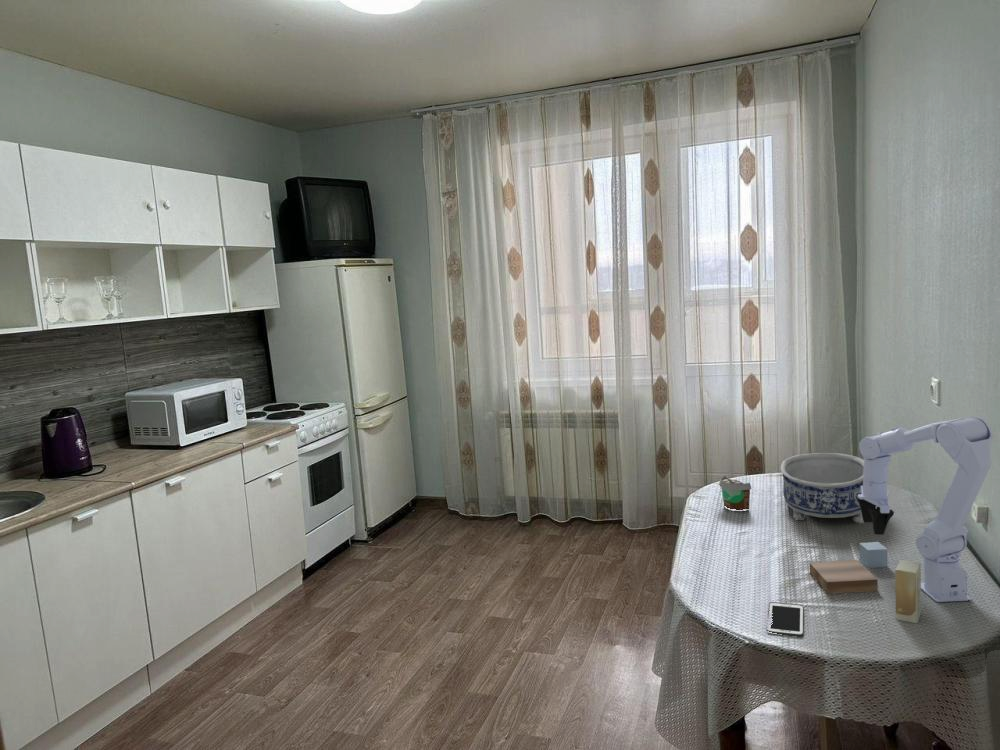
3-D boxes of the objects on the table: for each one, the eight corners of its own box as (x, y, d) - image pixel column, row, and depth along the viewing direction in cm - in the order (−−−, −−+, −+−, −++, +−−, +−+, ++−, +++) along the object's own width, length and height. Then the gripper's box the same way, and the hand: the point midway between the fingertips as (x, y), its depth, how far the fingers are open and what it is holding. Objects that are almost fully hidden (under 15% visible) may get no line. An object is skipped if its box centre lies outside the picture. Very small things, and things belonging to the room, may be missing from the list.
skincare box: (900, 608, 163) (899, 558, 161) (921, 612, 160) (921, 562, 158) (894, 620, 158) (894, 568, 156) (916, 624, 155) (916, 572, 154)
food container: (712, 506, 242) (711, 478, 241) (726, 502, 245) (724, 475, 243) (738, 515, 231) (737, 486, 230) (752, 511, 233) (751, 483, 232)
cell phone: (803, 608, 167) (803, 604, 167) (803, 639, 154) (803, 635, 154) (769, 605, 171) (769, 601, 170) (766, 635, 157) (766, 631, 157)
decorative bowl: (880, 534, 206) (879, 486, 204) (783, 530, 215) (781, 484, 213) (862, 490, 245) (861, 449, 243) (781, 488, 254) (779, 448, 252)
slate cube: (887, 567, 184) (887, 549, 184) (867, 568, 185) (867, 550, 184) (878, 559, 189) (878, 541, 189) (859, 560, 190) (859, 543, 189)
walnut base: (877, 590, 172) (877, 579, 171) (827, 593, 173) (827, 582, 173) (856, 570, 184) (856, 559, 183) (809, 573, 185) (809, 562, 184)
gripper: (849, 470, 191) (847, 516, 194) (869, 490, 177) (867, 539, 180) (876, 470, 190) (874, 516, 193) (899, 489, 176) (896, 539, 179)
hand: (873, 527), depth 186 cm, fingers open, 7 cm apart
